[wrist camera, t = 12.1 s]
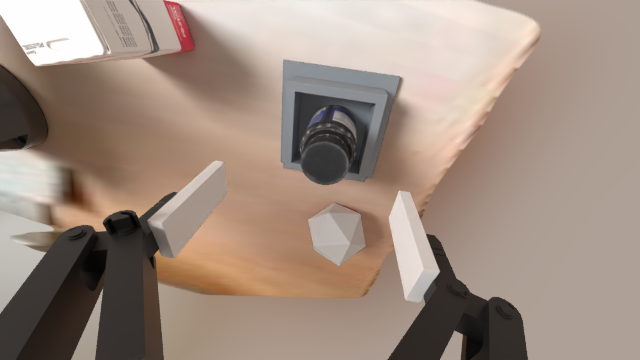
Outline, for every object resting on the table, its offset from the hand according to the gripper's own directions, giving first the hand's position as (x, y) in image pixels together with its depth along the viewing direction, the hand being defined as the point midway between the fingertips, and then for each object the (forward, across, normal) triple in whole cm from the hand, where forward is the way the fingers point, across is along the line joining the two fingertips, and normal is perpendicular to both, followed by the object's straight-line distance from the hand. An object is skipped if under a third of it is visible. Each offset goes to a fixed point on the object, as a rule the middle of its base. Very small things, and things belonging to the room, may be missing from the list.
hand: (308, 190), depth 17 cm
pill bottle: (+16, +1, 0) cm, 16 cm away
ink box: (+17, -22, +8) cm, 29 cm away
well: (+16, +1, 0) cm, 16 cm away
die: (+16, +4, -16) cm, 23 cm away
